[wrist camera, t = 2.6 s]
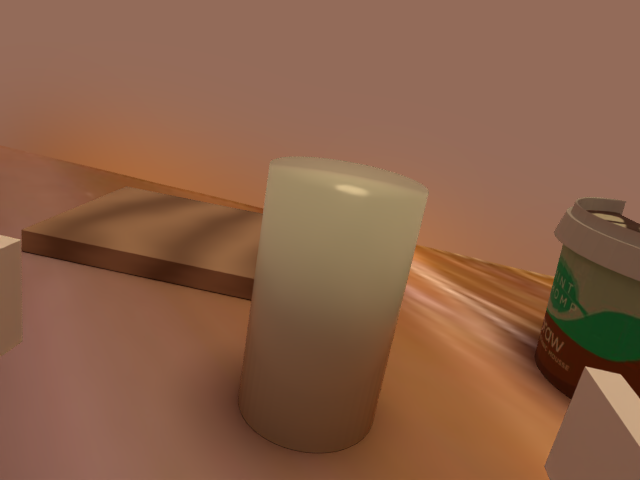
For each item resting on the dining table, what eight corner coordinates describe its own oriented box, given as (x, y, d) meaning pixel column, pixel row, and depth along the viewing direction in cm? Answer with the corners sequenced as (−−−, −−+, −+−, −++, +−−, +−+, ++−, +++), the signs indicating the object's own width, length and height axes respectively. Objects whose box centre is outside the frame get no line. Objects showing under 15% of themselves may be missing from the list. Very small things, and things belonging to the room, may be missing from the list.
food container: (488, 320, 36) (530, 184, 33) (570, 332, 36) (620, 198, 33) (573, 443, 24) (651, 251, 21) (692, 459, 25) (788, 272, 21)
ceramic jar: (375, 379, 27) (423, 176, 23) (370, 468, 20) (435, 211, 17) (257, 353, 27) (286, 150, 23) (219, 432, 21) (250, 175, 17)
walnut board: (357, 248, 45) (360, 233, 45) (343, 319, 32) (348, 298, 32) (125, 201, 47) (126, 186, 46) (22, 250, 34) (21, 229, 33)
